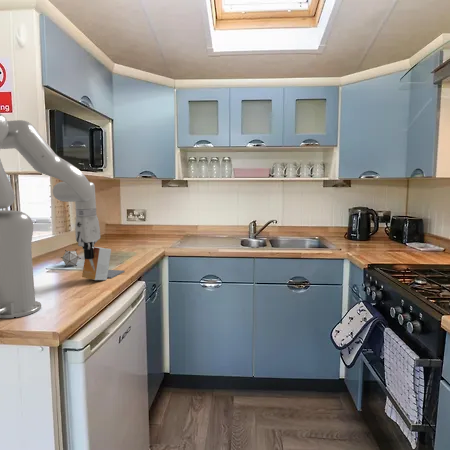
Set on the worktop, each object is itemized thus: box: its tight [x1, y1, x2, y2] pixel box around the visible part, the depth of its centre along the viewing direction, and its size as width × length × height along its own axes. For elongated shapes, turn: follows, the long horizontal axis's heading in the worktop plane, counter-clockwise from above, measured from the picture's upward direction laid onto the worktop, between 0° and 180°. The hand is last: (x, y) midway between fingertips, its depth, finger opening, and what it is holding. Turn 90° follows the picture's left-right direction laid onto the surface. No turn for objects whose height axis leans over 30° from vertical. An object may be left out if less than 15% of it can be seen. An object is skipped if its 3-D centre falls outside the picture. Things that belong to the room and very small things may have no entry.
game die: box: [60, 249, 82, 268], centre depth 164 cm, size 9×8×10 cm
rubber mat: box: [107, 269, 125, 279], centre depth 147 cm, size 11×10×1 cm
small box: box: [81, 246, 112, 281], centre depth 138 cm, size 8×6×13 cm
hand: (89, 258), depth 134 cm, fingers closed
